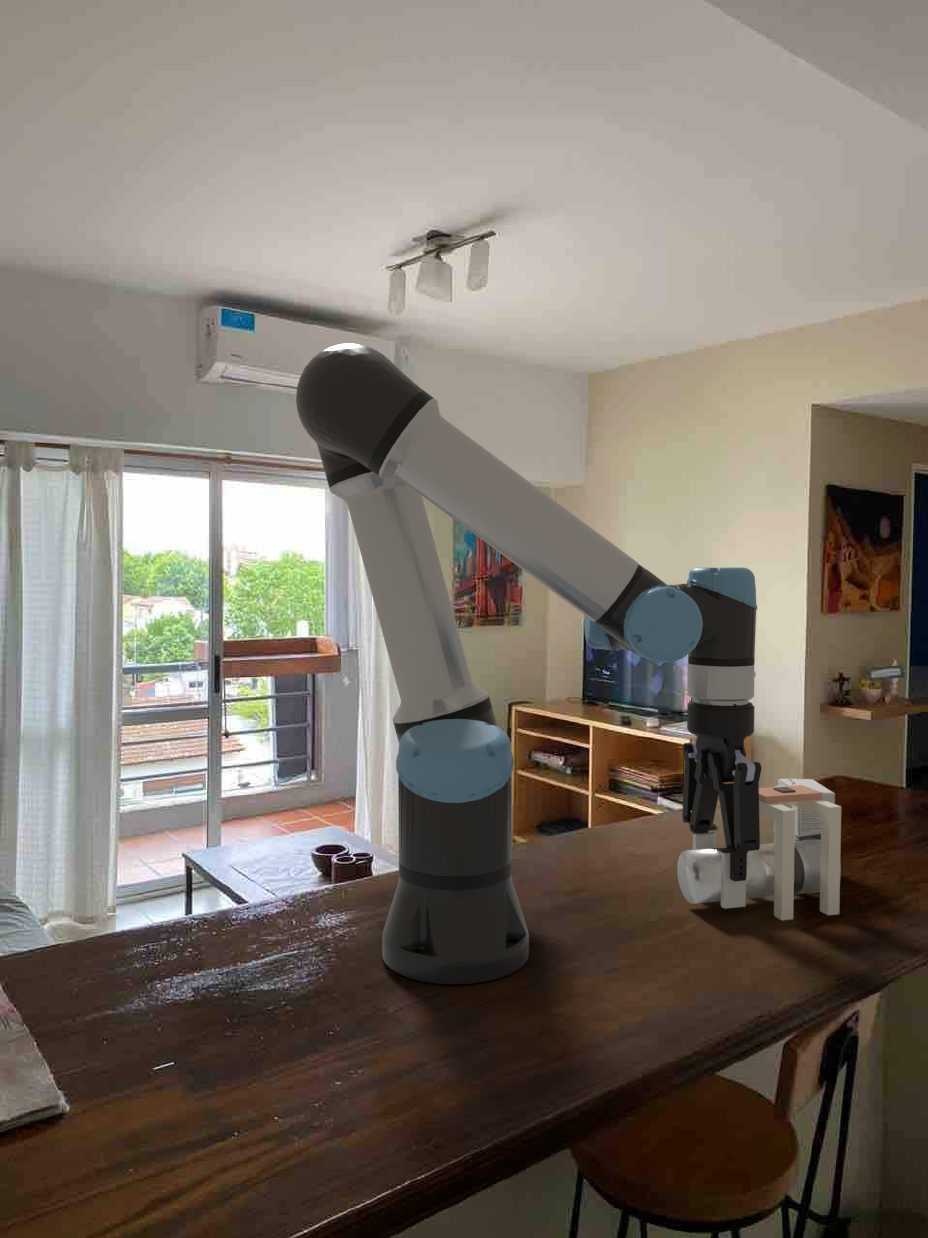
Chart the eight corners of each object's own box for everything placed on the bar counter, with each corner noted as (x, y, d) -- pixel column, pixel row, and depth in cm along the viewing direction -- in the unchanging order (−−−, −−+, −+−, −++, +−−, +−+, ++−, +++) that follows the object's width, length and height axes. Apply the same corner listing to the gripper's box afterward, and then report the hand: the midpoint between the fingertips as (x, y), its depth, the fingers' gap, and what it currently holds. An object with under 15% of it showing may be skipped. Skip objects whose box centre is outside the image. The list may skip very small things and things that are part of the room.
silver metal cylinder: (699, 914, 107) (703, 864, 105) (675, 888, 112) (679, 841, 111) (838, 900, 111) (844, 852, 110) (808, 876, 117) (813, 830, 115)
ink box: (836, 885, 118) (838, 792, 117) (796, 885, 118) (798, 792, 117) (812, 864, 126) (814, 777, 126) (775, 863, 126) (776, 777, 126)
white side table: (781, 920, 106) (783, 802, 105) (730, 888, 116) (731, 780, 116) (839, 914, 108) (841, 798, 107) (783, 883, 118) (785, 777, 118)
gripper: (797, 711, 100) (794, 923, 102) (708, 689, 119) (706, 869, 120) (734, 713, 99) (731, 929, 100) (654, 691, 117) (652, 873, 118)
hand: (718, 896), depth 110 cm, fingers closed on silver metal cylinder, 6 cm apart
